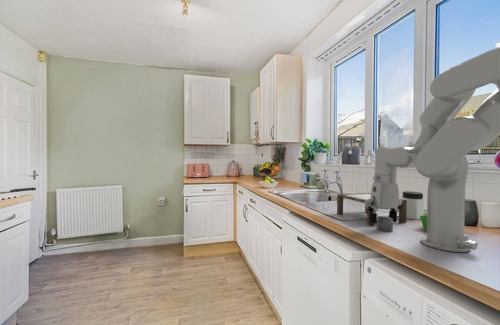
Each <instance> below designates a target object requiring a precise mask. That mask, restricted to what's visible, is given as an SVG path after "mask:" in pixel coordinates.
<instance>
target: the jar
mask: <svg viewBox="0 0 500 325" xmlns="http://www.w3.org/2000/svg"><path fill="white" fill-rule="evenodd" d="M401 199H403V200H407V210H406V220H407V219H408V220H416V221H417V220H421V219H420V216H423V215H425V214H424V212H425V211H424V210H425V199H424V193H423V192H420V191H412V190H411V191H409V190H408V191H407V190H406V191H405V190H404V191H402V196H401Z"/></svg>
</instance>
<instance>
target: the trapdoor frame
mask: <svg viewBox="0 0 500 325" xmlns="http://www.w3.org/2000/svg"><path fill="white" fill-rule="evenodd" d="M354 194H355V193H342V194H341V193H340V194H338V193H337V195H336V200H337V202H336V214H337V215H338V216H343V215H344V199H346V200H351V201H355V202H359V203H363V204H364V205H365V201H367V200H364V199H359V198H355V197H351V196H346V195H354ZM357 194H371V192H361V193H359V192H358V193H357ZM399 199H400V200H402V204H401V205H400V206H401V207H400V208H399V211H398V223H400V224H407V218H406V210H407V200H403V199H402V198H399ZM370 205H371V204H370ZM373 210H374V208H373ZM364 213H366V225H367V226H369V227H375V224H374V223H371V222H369V214H370V212H368V210H367V208H366V205H365V206H364Z"/></svg>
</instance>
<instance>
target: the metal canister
mask: <svg viewBox="0 0 500 325" xmlns="http://www.w3.org/2000/svg"><path fill="white" fill-rule="evenodd" d="M393 223H394V222H393V218H392V217H389V216H386V215H377V230H378V231H380V232H384V233H393V229H394V228H393V227H394V224H393Z"/></svg>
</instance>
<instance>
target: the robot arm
mask: <svg viewBox="0 0 500 325" xmlns="http://www.w3.org/2000/svg"><path fill="white" fill-rule="evenodd" d="M430 83H431V84H430V85H429V91H430V94H431V96H432V97H433V98H432V99H431V101H430V102H429V103H428V105H427V106H426V107H425V109H424V110H423V112H422V113H421V114H420V116H419V122H420V126H421V130H420V131H421V132H420V134H419V136H418V138H417V140H416V141H415V142H414V143H413V145H412V147H411V146H399V147H377V148H376V149H375V154H374V155H375V156H374V158H375V159H374V176H372V180H373V182H372V185H371V190H370V193H371V198H370V199H368V200H367V201H365V203H364V205H366V208H367V210H368V212H370V214H369V222H371V223H374V225H375V224H378V213H377V212H378V210H379V209H380V210H388V209H389V211H388V212H389V213H388V217H392V218H393V223H397V222H398V221H397V220H398V213H399V208H400V207H401V206H400V205H401V204H402V200H400V199H401V198H400V192H399V191H400V190H399V184H398V183H397V170H398V169H397V168H400V169H401V168H402V169H404V168H405V169H407V168H415V169H416V171H417V172H418V173H419V174H420V175H421V176H423V177H425V178H427V179H428V178H429V180H428V184H427V193H426V194H427V195H426V206H427V207H426V215H427V230H426V235H423V236H422V237H421V238H420V242H421V243H422V244H423V245H425V246H427V247H430V248H433V249H436V250H437V249H438V250H442V251H446V252H454V253H455V252H456V253H467V252H470V251H471V250H472V251H476V250H477V248H478V242H477V241H472V240H470V239H469V235H468V234H466V233H465V210H466V208H465V206H466V205H465V204H466V202H465V201H466V186H467V185H466V184H467V179H468V172H469V161H468V158H467V157H466V155H467V154H468V153H470V152H471V151H472V152H473V151H479V150H482V149H484V148H487V147H488V146H489V145H490V144H492V143H493V141H494V140H495V139H497V137H499V135H500V47H496V48H493V49H490V50H488V51H485V52H482V53H481V54H478V55H475V56H474V57H471V58H470V59H468V60H465V61H463V62H461V63H459V64H456V65H454V66H452V67H450V68H448V69H446V70H444V71H442V72H440V73H439V74H437V75H436V76H435V78H433V80H432V81H431V82H430ZM490 84H492V85H495V86H496V89H495V91H494V92H492V94H491V95H489V96H488V97H487V98H486V99H485V100H484V101H483V102H482V103H480V105H479V106H478V107H477V108H476V109H475V110H474V111H473V112H472V113H471V114H470V115H469V116H458V115H459V113H460V112H461V110H462V109H463V108H464V107H465V106H466V104H468V102H469V101H470V99H471V98H472V96H473V95H474V94H475V92H476V89H479V88H481V87H484V86H487V85H490ZM457 116H458V117H457ZM370 204H371V205H370ZM373 208H374V210H373Z"/></svg>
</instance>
